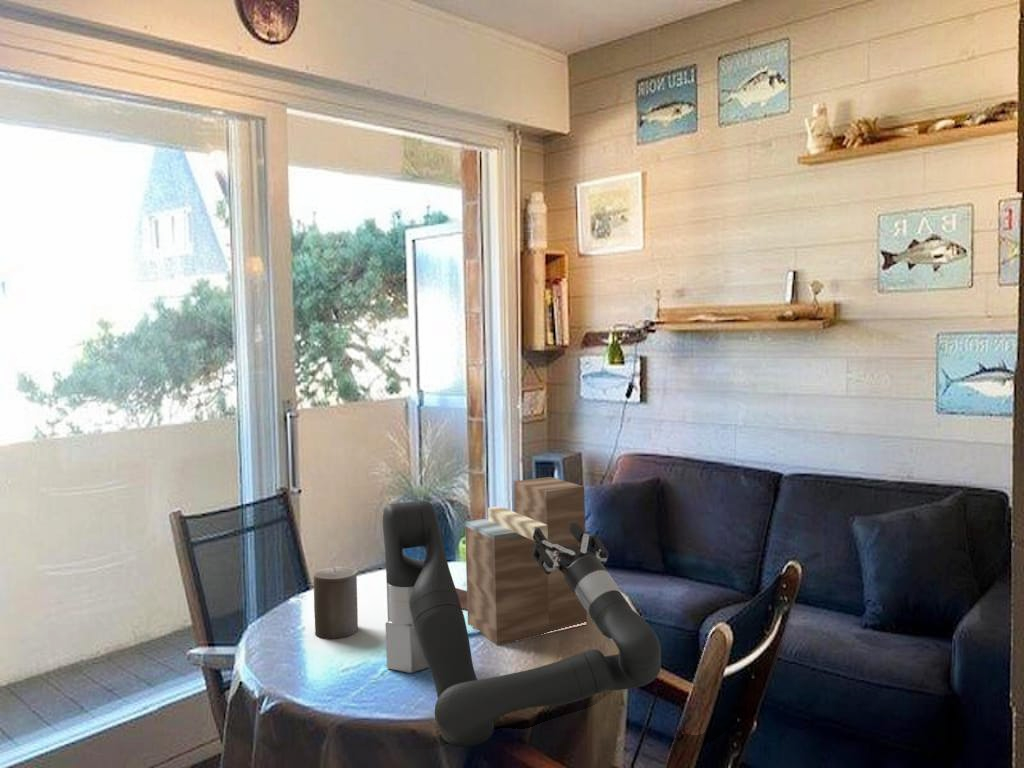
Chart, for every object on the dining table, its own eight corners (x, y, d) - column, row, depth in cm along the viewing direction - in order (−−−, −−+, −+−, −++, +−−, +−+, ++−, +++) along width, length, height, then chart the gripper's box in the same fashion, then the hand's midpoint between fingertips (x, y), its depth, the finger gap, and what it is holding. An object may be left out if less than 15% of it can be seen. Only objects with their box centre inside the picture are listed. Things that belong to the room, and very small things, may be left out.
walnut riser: (586, 625, 185) (584, 486, 183) (496, 645, 174) (493, 498, 172) (553, 606, 198) (550, 476, 196) (467, 623, 187) (464, 487, 185)
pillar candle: (315, 641, 179) (313, 574, 178) (314, 626, 188) (312, 562, 187) (360, 636, 181) (358, 571, 180) (356, 621, 191) (355, 559, 190)
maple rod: (547, 539, 168) (547, 525, 168) (535, 541, 167) (534, 527, 167) (500, 519, 188) (499, 506, 188) (488, 520, 186) (488, 507, 186)
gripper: (555, 607, 150) (519, 547, 162) (619, 594, 156) (579, 537, 168) (565, 577, 146) (527, 518, 158) (630, 565, 153) (588, 509, 164)
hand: (554, 528), depth 163 cm, fingers open, 8 cm apart
